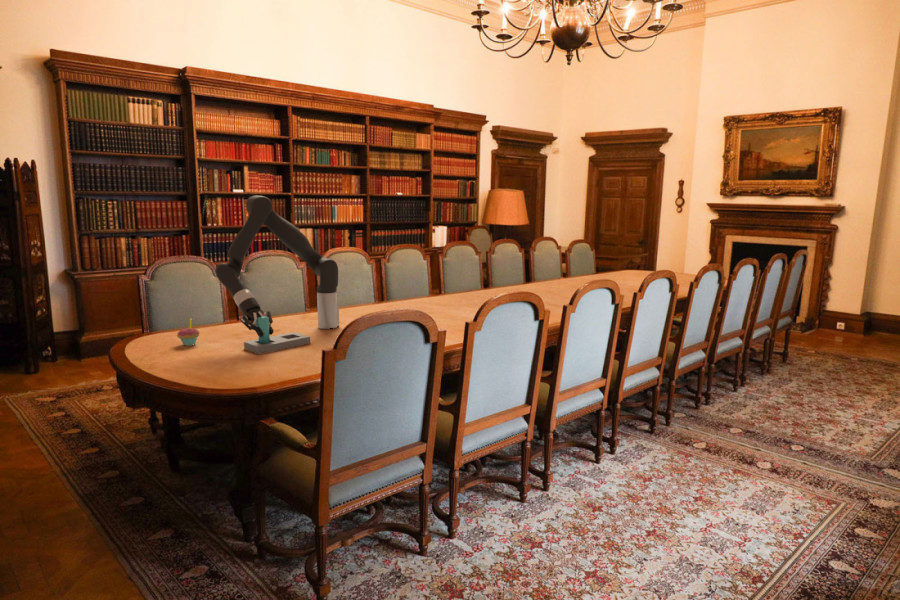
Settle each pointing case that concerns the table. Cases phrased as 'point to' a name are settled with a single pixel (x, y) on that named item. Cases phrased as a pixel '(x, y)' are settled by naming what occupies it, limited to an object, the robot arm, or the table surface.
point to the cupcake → (188, 335)
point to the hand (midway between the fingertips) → (267, 334)
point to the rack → (277, 343)
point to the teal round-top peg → (264, 329)
